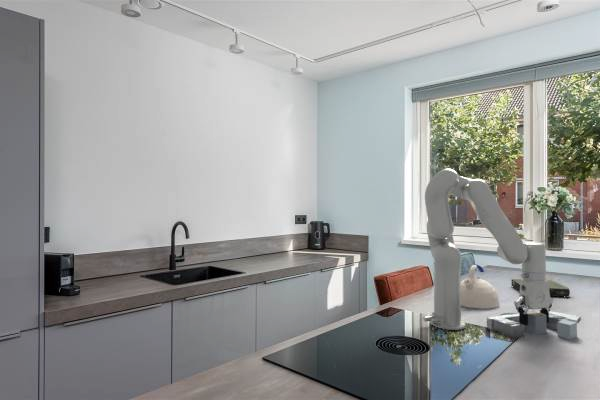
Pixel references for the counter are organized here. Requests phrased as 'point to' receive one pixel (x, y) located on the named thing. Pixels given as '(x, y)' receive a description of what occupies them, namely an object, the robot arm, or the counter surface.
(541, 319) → the module block
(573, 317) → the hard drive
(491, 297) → the kettle
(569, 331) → the block
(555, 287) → the network switch
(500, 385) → the counter surface
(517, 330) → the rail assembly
